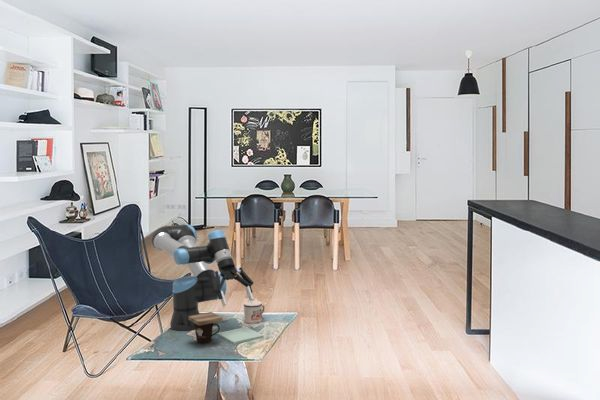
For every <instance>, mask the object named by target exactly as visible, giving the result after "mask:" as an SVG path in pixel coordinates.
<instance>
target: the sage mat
mask: <svg viewBox="0 0 600 400" xmlns="http://www.w3.org/2000/svg"><path fill="white" fill-rule="evenodd" d="M216 335H217V336H218V337H220V338H221V339H224V340H225V341H227V342H229V343H230V344H233V345H238V344H241V343H247V342H250V341H253V340H258V339H259V340H260V339H263V338H264V337H265V336H264V334H262V333H260V332H258V331H255V330H253V329H252V328H249V327H247V326H243V327H239V328H235V329H229V330H225V331H220V332H218V333H216Z"/></svg>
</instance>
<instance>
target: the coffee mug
mask: <svg viewBox="0 0 600 400" xmlns="http://www.w3.org/2000/svg"><path fill="white" fill-rule="evenodd" d="M194 326H195V329H194V330H195V331H194V333H195V338H196V343H197V344H199V345H208V344H210V343H212V340H213V339H212V338H213V336H215V335H217V333H220V332H219V331H220V330H221V327H220V325H219V324H218V323H217V322H215V323H210V324H205V325H200V326H199V325H197V324H195V323H194ZM214 326H217V328H218V330H216V332H214V333H213V330H214V329H213V327H214Z"/></svg>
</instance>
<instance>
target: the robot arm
mask: <svg viewBox="0 0 600 400" xmlns="http://www.w3.org/2000/svg"><path fill="white" fill-rule="evenodd" d="M207 237H208V241H209V242H208V243H207V245H199V246H197V244H196V243H197V241H198V240H197V239H198V237H197V233H196V229H195V227H194V226H193V225H191V224H184V223H182V224H178V225H167V226H165V225H164V226H161V227H158V228H157V229H155V230H154V231H153V233H152V234H151V237H150V242H151V244H152V246H153V248H155V249H156V250H157V251H163V252H165V253H167V254H169V255H170V256H172V257H173V260H174V262H175V264H176V265H183V266H185V265H187V266H188V268H189V270H190V271H191V273H192V275H188V276H182V277H179V278H176V279H175V280H174V281H173V283H172V290H171V292H172V301H173V303H172V304H173V306H172V307H173V311H172V315H171V318H170V323H169V324H170V329H171V330H175V331H191V330H195V326H194V322H192V321H190V320H189V316H192V315H197V314H201V313H200V311H199V303H203V302H204V303H205V302H209V301H217V300H220V301H221V304H222V307H224V308H225V307H226V305H227V299H226V298H225V296H226V292H227V281H229V280H230V281H231V280H235V281H237V282H238V283H240V284H242V286H244V287H245V291H246V294H247V298H248V301H252V300H253V298H254V296H253V289H252V286H253V285H254V281H253V279H251V278H250V277H249V276H248V275H247V273H246V272H245V271H244V269H243V268H242V267H239V268H236V266H235V265H236V264H235V261H234V259H233V255H232V254H231V250H230V248H229V243H228V241H227V238H226V235H225V234H224V231H223V230H221V229H215V230H213V231H211V232H209V234H208V236H207ZM214 262H216V263H217V268H218V270H219V271H218V270H214V269H211V268H210V267H209V265H210V264H213V263H214ZM208 264H209V265H208Z"/></svg>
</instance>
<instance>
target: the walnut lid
mask: <svg viewBox="0 0 600 400" xmlns="http://www.w3.org/2000/svg"><path fill="white" fill-rule="evenodd" d="M189 320H190V321H192V322H194V323H195V324H197V325H199V326H200V325H205V324H210V323H213V324H215V323H219V322H223V317H222V316H220V315H218V314H216V313H214V312H212V311H209V312H203V313H200V314H197V315H192V316H189Z"/></svg>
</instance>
